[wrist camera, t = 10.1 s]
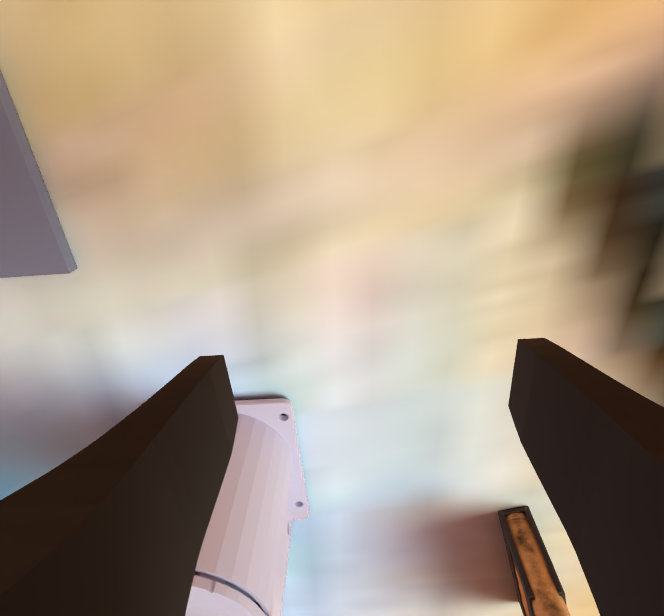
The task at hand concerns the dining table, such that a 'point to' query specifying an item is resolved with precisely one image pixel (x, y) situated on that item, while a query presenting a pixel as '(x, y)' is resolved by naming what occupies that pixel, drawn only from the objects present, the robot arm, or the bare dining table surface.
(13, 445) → the dining table surface
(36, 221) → the board
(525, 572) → the ammunition clip
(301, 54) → the dining table surface
